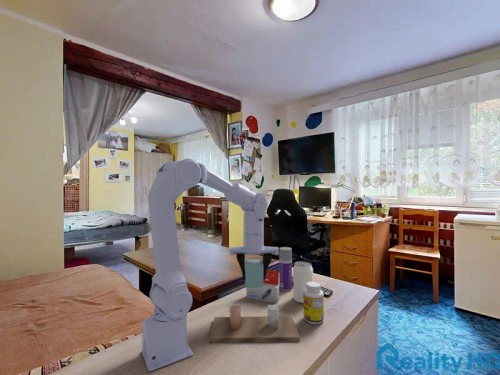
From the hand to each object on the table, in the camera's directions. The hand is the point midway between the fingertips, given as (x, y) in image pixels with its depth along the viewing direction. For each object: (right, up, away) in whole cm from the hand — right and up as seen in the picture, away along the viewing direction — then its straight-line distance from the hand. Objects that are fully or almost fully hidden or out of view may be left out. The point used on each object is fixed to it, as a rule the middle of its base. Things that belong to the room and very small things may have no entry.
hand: (254, 278), depth 75 cm
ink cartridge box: (+3, -11, +10) cm, 15 cm away
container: (+12, -11, +18) cm, 24 cm away
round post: (-5, -10, -9) cm, 15 cm away
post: (+5, -9, -9) cm, 14 cm away
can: (+17, -11, +9) cm, 22 cm away
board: (0, -10, -9) cm, 14 cm away
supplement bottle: (+17, -11, -4) cm, 20 cm away
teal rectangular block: (0, -2, 0) cm, 2 cm away
